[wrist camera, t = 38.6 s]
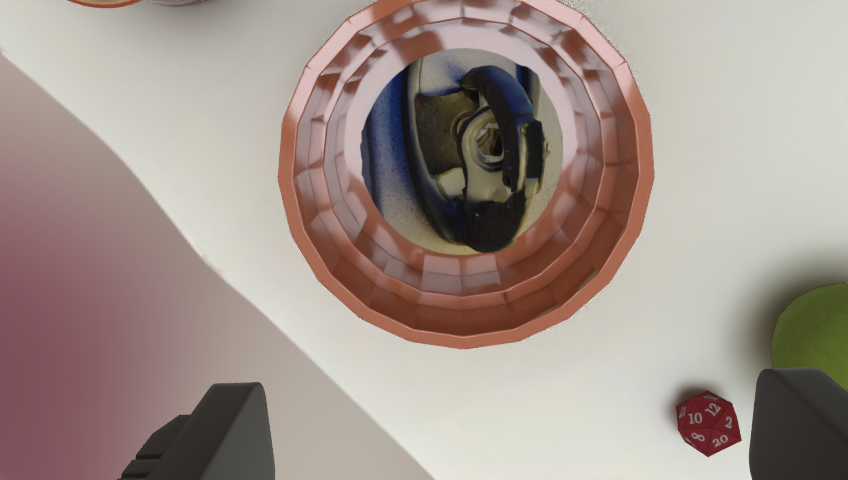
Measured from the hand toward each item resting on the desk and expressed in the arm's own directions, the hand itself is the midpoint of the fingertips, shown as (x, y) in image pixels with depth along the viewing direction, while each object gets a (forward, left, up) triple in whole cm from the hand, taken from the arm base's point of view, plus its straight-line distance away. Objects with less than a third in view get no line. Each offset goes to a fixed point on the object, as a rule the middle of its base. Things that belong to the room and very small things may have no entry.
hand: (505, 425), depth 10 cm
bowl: (0, 0, -30) cm, 30 cm away
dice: (+22, -8, -30) cm, 39 cm away
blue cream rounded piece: (+1, -1, -30) cm, 31 cm away
